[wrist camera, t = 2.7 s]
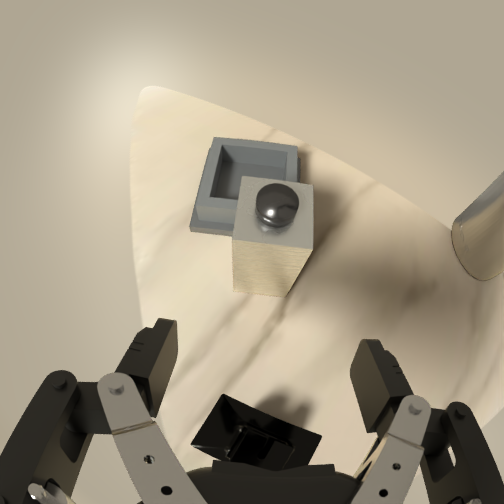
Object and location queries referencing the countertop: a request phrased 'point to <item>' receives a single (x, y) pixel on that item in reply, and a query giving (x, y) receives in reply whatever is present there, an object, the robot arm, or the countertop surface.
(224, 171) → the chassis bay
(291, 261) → the knobbed grey block
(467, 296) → the countertop surface
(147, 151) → the countertop surface
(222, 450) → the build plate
